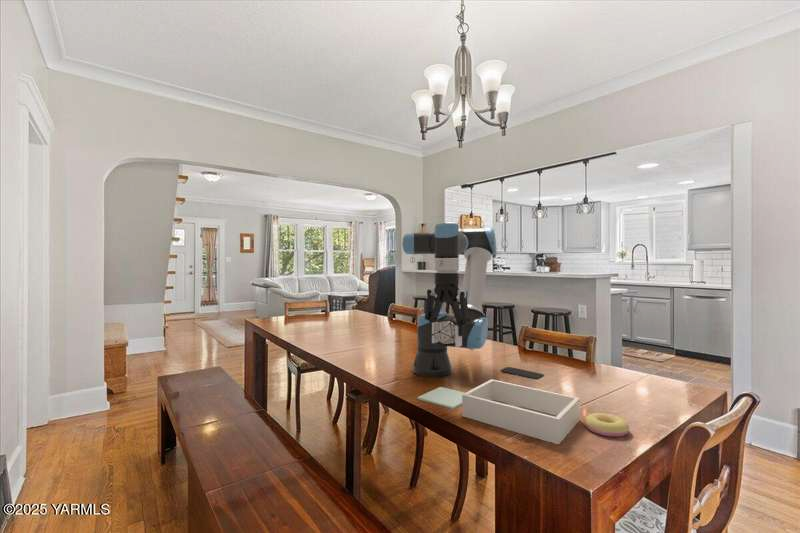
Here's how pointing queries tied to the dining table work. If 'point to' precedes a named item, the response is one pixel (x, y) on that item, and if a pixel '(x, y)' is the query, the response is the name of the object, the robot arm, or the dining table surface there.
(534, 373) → the phone
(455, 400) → the mat
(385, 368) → the dining table surface
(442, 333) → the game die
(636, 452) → the dining table surface
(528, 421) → the crate
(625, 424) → the donut
